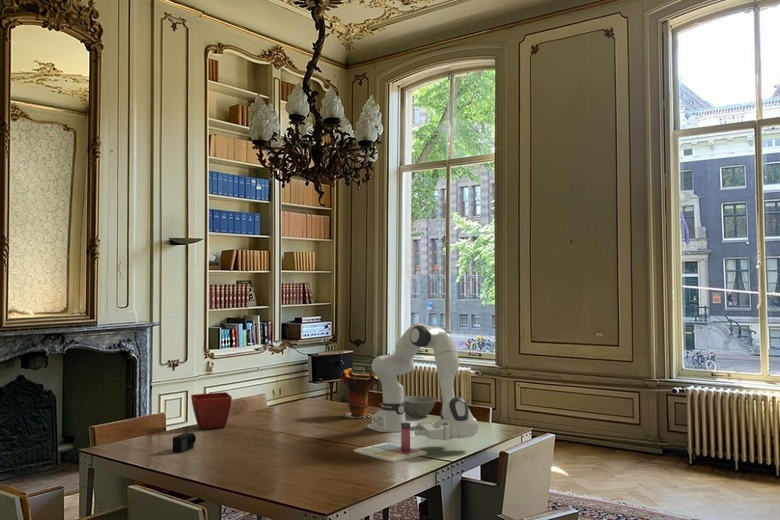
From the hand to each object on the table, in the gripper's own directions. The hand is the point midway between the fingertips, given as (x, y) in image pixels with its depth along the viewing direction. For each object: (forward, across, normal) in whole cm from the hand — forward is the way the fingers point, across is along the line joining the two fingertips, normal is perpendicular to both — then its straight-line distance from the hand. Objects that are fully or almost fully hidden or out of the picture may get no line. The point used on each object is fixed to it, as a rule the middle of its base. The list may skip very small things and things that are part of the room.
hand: (412, 430), depth 282 cm
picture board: (+10, -3, +10) cm, 14 cm away
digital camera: (+100, -32, +10) cm, 105 cm away
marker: (+3, 0, +8) cm, 9 cm away
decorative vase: (+8, -94, +10) cm, 95 cm away
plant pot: (+91, -84, +10) cm, 124 cm away
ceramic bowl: (-25, -86, +10) cm, 90 cm away
